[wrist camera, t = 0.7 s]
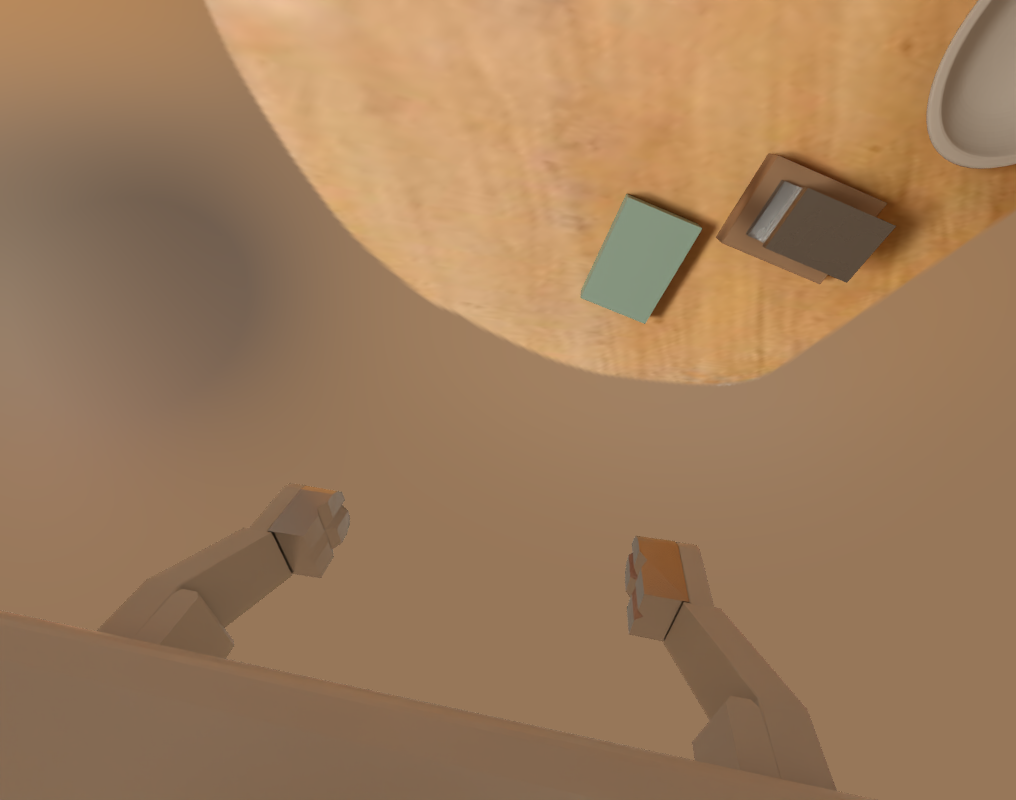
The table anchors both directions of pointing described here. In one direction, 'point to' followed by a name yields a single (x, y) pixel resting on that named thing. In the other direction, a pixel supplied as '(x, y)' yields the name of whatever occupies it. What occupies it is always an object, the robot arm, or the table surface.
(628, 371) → the table surface
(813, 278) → the stand
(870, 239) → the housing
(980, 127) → the dish
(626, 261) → the stand
